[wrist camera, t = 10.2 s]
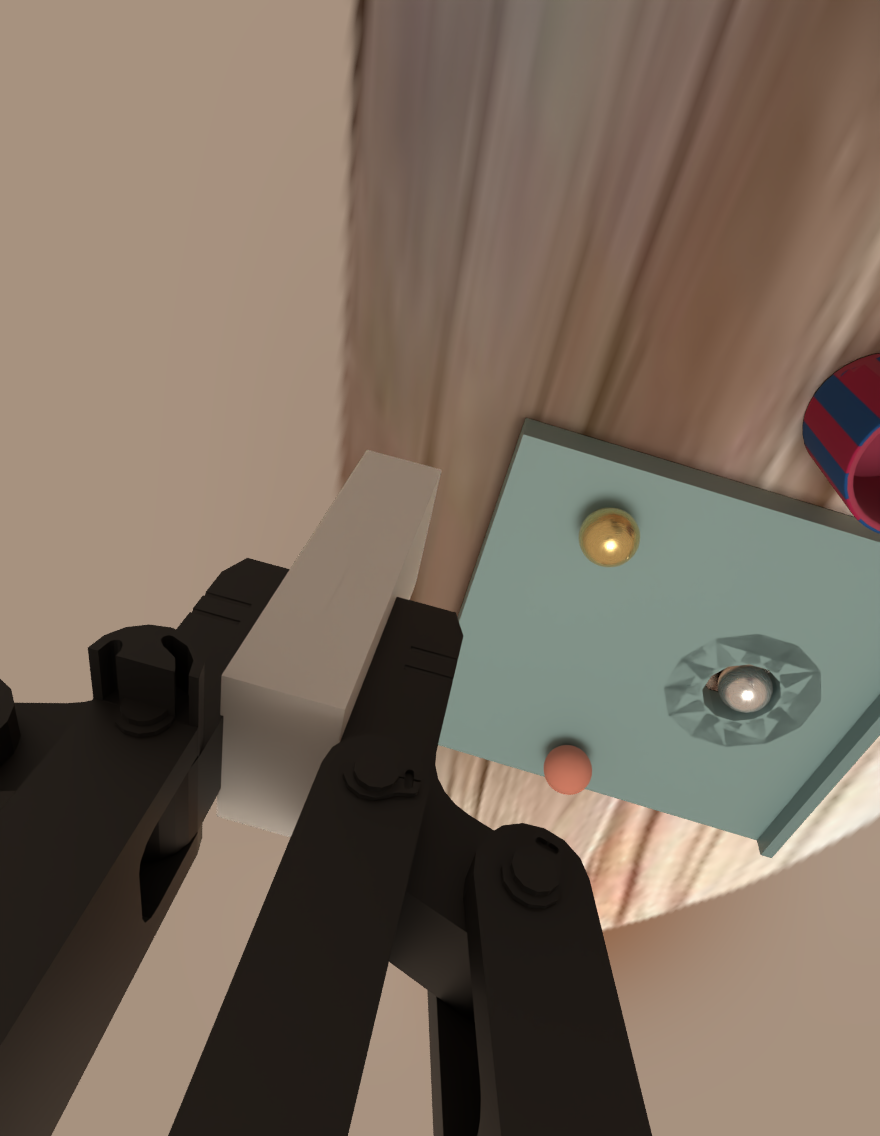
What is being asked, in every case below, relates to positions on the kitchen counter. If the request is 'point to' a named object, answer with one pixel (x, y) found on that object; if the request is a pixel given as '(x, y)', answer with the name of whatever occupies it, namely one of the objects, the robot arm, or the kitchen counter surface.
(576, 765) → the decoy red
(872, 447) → the mug
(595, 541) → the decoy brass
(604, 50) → the kitchen counter surface
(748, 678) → the steel ball
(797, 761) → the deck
